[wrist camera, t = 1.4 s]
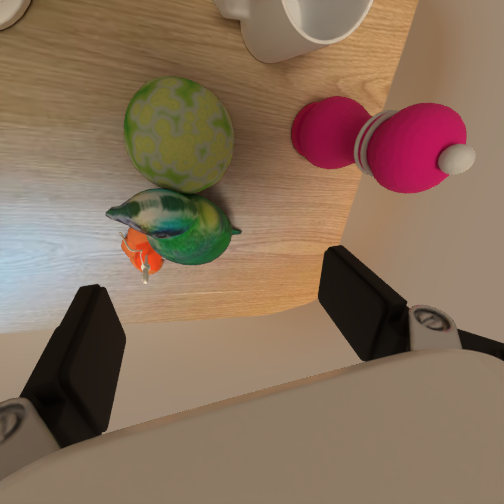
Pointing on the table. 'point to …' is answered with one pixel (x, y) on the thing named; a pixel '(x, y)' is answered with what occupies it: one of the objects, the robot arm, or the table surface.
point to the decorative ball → (178, 134)
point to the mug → (293, 24)
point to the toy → (177, 225)
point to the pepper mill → (385, 142)
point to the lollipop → (141, 253)
